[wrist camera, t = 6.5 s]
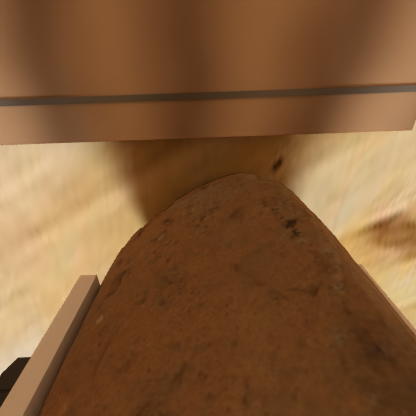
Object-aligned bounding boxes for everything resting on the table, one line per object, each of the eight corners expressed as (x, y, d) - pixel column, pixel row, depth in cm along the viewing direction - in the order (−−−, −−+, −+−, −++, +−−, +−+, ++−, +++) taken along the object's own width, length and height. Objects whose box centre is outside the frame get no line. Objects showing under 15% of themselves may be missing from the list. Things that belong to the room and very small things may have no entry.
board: (-19, 138, 15) (-50, 147, 13) (-131, -114, 10) (-206, -157, 8) (387, 123, 15) (413, 130, 13) (460, -131, 10) (517, -176, 8)
